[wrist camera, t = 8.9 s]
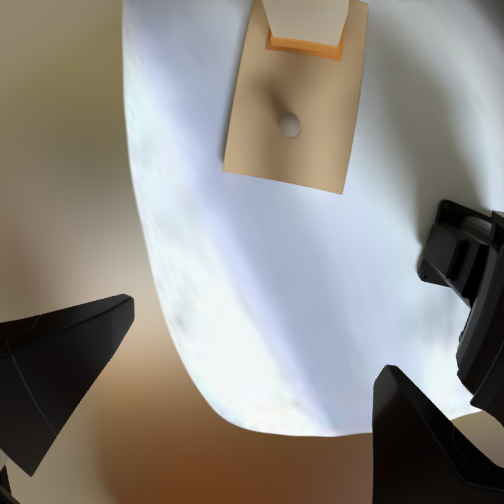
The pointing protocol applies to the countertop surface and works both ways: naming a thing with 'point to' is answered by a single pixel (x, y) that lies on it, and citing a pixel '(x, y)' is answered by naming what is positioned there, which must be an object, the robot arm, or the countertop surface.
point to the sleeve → (307, 23)
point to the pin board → (296, 106)
